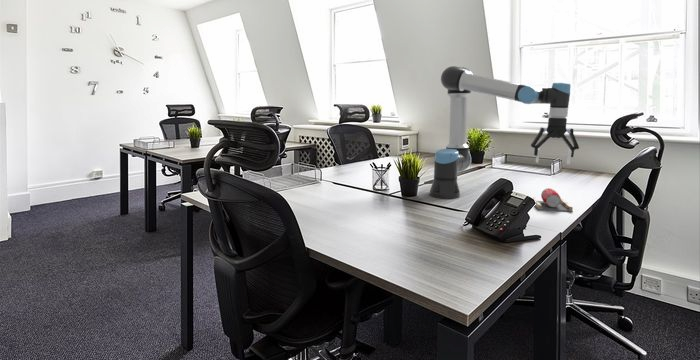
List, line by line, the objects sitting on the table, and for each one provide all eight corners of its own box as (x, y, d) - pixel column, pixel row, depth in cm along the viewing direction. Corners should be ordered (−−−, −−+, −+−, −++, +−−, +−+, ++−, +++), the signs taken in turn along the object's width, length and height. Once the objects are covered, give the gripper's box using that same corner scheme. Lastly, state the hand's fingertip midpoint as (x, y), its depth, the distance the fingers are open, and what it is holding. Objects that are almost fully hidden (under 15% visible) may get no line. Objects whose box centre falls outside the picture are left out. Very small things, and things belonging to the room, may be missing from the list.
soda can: (555, 202, 200) (561, 209, 189) (539, 201, 202) (544, 208, 191) (557, 187, 199) (562, 193, 187) (541, 187, 200) (545, 193, 189)
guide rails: (531, 200, 204) (531, 197, 204) (562, 202, 201) (562, 198, 201) (538, 208, 189) (539, 205, 189) (572, 210, 186) (572, 207, 186)
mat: (530, 201, 204) (530, 200, 204) (562, 203, 202) (562, 202, 201) (538, 210, 189) (538, 208, 189) (572, 212, 186) (572, 210, 186)
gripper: (584, 117, 192) (578, 163, 196) (527, 116, 197) (522, 160, 201) (590, 118, 185) (584, 166, 189) (530, 116, 189) (525, 163, 194)
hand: (552, 163), depth 195 cm, fingers open, 13 cm apart
